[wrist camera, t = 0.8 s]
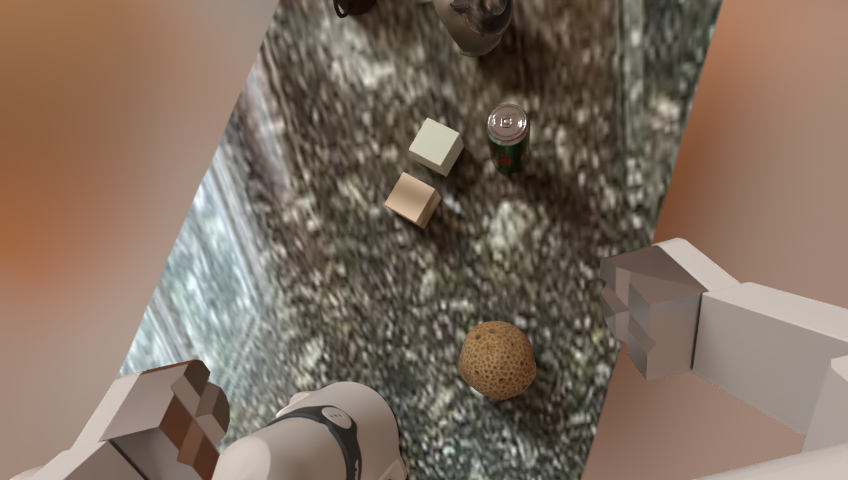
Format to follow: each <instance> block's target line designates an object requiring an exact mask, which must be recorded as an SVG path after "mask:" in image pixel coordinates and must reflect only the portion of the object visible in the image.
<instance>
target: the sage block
mask: <svg viewBox="0 0 848 480" xmlns="http://www.w3.org/2000/svg"><path fill="white" fill-rule="evenodd" d="M463 148H464V145H463V142H462V139H461V136H460V133H458V132H456V131H454V130H452V129H450V128H448V127H446V126H444V125H442V124H440V123H437V122H435V121H433V120H431V119H429V118H427V119H426V121H425V123H424V124H423V126H422V128H421V129H420V131H419V133H418V134H417V136H416V138H415V140H414V141H413V143H412V145H411V146H410V148H409V151H410V152H411V154H412V155H413V157H414V158H415V159H416V161H417V162H419V163H421V164H423V165H425V166H427V167H428V168H430V169H432V170H434V171H436V172H438V173H440V174H442V175H444V176H446V177H447V175H448V173H449V171H450V170H451V168H452V166H453V165H454V163H455V161H456V160H457V158H458V156H459V154H460V153H461V151H462V149H463Z"/></svg>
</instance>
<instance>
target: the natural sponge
mask: <svg viewBox="0 0 848 480" xmlns="http://www.w3.org/2000/svg"><path fill="white" fill-rule="evenodd" d="M458 368H459V373H460V375H461V377H462V378H463V379H464V380H465V381H466V382H467V383H468V384H469V385H470V386H472V387H473V388H474V389H475V390H477V391H478V392H480V393H481V394H483V395H484V396H486V397H488V398H491V399H497V400H503V399H508V398H511V397H515V396H517V395H519V394H521V393H522V392H524V391H525V390H526V389H527V388H528V387H529V385H530V384H531V383H532V381H533V380H534V378H535V376H536V362H535V359H534V355H533V351H532V346H531V343H530V341H529V340H528V338H527V337H526V335H525V334H524V333H523V332H522V331H520V330H519V329H518V328H517V327H515V326H513V325H512V324H509V323H506V322H503V321H491V322H485V323H482V324H479V325H477V326H476V327H474V328H473V329H472V330H471V331H470V332H469V333H468V334H467V336H466V338H465V340H464V343H463V346H462V350H461V354H460V359H459V367H458Z"/></svg>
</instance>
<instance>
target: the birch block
mask: <svg viewBox="0 0 848 480" xmlns="http://www.w3.org/2000/svg"><path fill="white" fill-rule="evenodd" d="M441 199H442V198H441V197H440V195H439V194H438V192H437V191H436V190H435V189H434V188H432V187H430V186H428V185H427V184H425V183H423V182H421V181H419V180H417V179H415V178H413V177H412V176H410V175H408V174H406V173H404V172H403V174H402V175H401V177H400V179H399V180H398V182H397V184H396V186H395V187H394V189H393V191H392V192H391V194H390V196H389V197H388V199H387V201H386V203H385V204H384V205H386V206H387V207H388V208H390V209H391V210H392V211H393V212H395V213H397V214H398V215H400V216H402V217H404V218H405V219H407V220H409V221H411V222H412V223H414V224H416V225H418V226H419V227H421V228H423V229H424V228H425V226H426V224H427V223H428V221H429V219H430V217H431V216H432V214H433V212H434V211H435V209H436V207H437V206H438V204H439V202H440V200H441Z"/></svg>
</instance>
